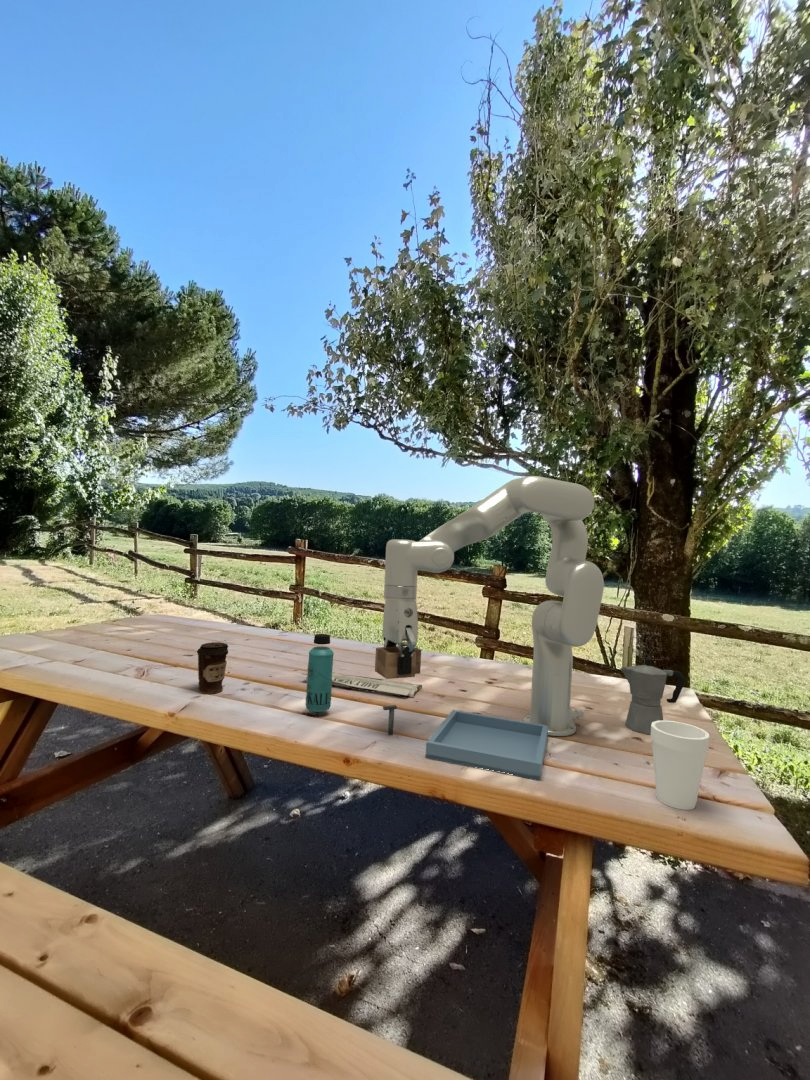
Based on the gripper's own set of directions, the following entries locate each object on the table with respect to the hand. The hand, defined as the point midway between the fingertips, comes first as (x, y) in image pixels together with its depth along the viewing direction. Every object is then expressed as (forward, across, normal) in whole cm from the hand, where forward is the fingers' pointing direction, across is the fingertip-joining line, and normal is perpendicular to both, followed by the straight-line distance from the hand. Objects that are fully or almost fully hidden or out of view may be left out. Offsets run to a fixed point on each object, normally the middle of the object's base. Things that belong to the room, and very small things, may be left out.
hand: (397, 669), depth 118 cm
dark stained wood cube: (+1, 0, -1) cm, 1 cm away
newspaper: (+16, +38, -6) cm, 41 cm away
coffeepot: (+16, -17, -64) cm, 68 cm away
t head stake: (+15, 0, +1) cm, 15 cm away
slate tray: (+15, -14, -17) cm, 27 cm away
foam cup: (+16, -45, -36) cm, 60 cm away
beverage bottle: (+15, +18, +13) cm, 27 cm away
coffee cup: (+15, +44, +36) cm, 59 cm away
